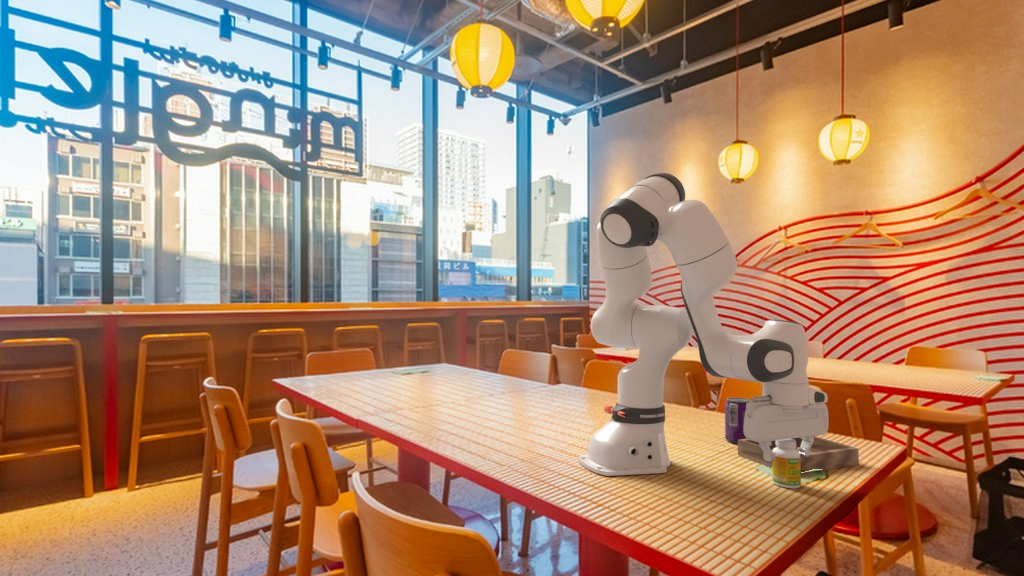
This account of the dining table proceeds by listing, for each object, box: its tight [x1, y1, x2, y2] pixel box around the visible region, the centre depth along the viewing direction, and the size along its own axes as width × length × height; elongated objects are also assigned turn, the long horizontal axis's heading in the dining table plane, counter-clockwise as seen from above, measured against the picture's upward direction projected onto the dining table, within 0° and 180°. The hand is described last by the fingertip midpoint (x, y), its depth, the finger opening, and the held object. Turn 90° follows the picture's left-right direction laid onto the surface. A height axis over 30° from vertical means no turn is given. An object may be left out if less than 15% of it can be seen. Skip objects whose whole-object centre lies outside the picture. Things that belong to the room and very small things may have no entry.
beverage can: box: [724, 397, 750, 445], centre depth 142 cm, size 7×7×12 cm
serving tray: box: [737, 436, 860, 472], centre depth 125 cm, size 22×16×4 cm
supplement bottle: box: [772, 439, 802, 489], centre depth 108 cm, size 5×5×10 cm
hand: (786, 458), depth 107 cm, fingers open, 8 cm apart
